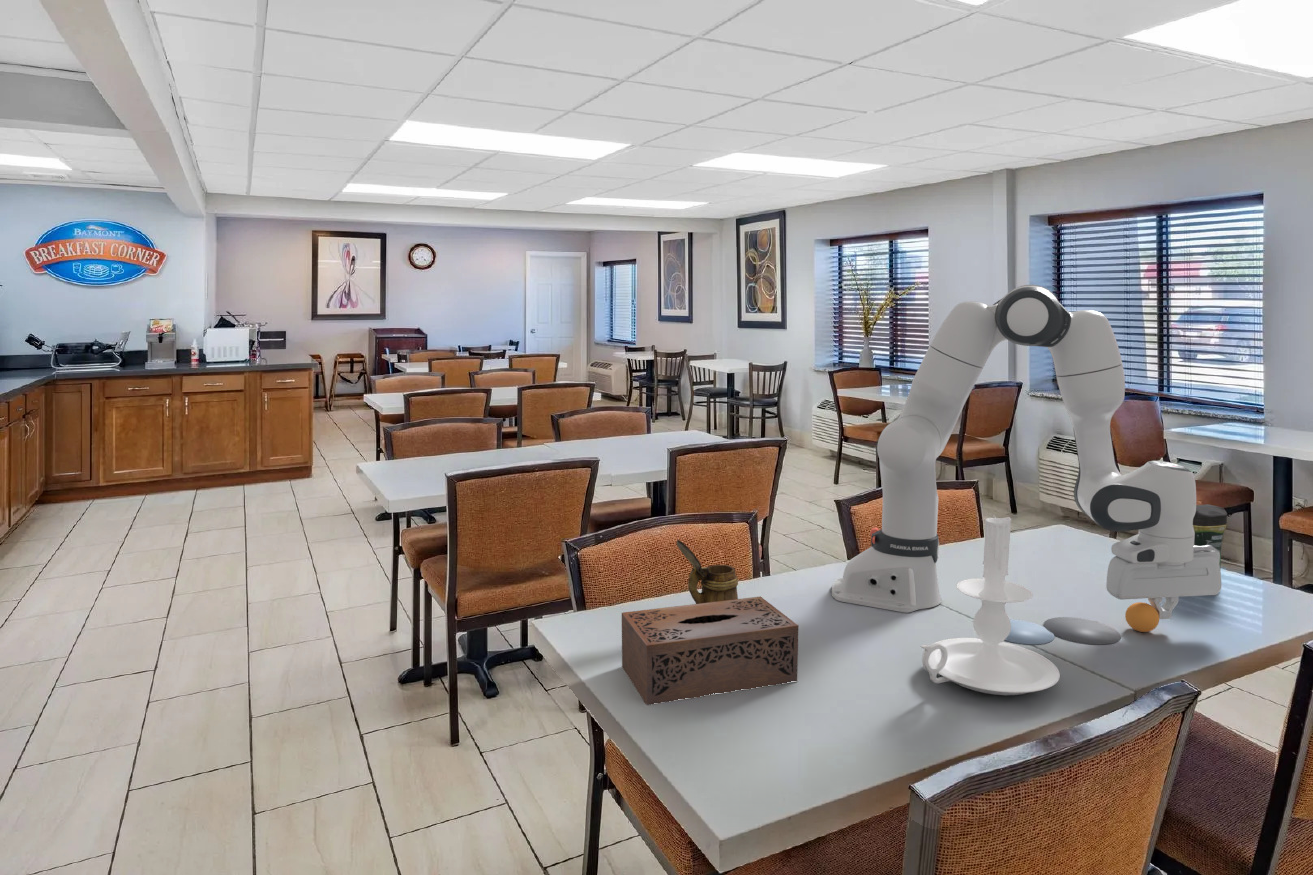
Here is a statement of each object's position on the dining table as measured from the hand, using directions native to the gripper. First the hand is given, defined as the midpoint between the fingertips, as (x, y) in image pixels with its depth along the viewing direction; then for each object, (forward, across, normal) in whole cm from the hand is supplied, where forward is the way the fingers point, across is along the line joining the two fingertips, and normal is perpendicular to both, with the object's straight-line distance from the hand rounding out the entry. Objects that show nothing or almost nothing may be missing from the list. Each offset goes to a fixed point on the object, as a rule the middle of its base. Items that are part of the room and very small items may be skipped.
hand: (1162, 618), depth 152 cm
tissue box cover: (0, +88, +15) cm, 89 cm away
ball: (0, +4, 0) cm, 4 cm away
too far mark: (+1, +27, 0) cm, 27 cm away
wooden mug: (-1, +86, -6) cm, 86 cm away
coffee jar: (+3, -23, -23) cm, 33 cm away
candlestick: (+1, +44, +20) cm, 49 cm away
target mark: (+2, +15, 0) cm, 15 cm away
